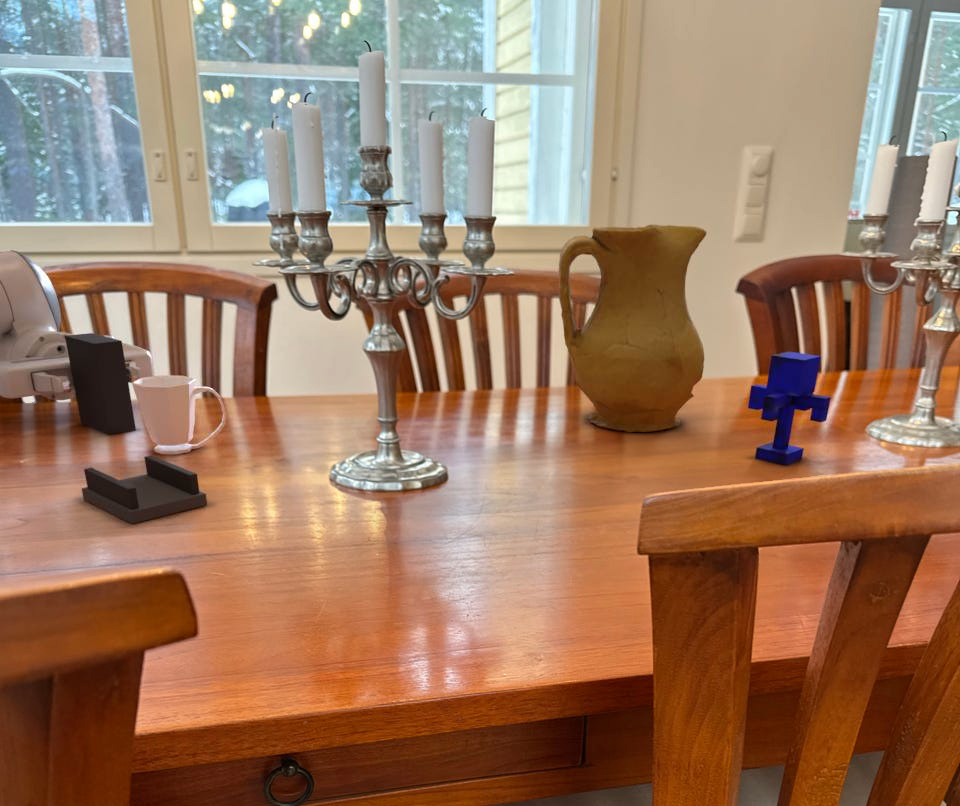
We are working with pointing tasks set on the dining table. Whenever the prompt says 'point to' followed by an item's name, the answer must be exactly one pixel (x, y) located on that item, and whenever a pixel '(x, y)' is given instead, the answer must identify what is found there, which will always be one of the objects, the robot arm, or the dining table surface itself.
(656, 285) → the pitcher
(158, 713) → the dining table surface
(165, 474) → the base pad
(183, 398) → the cup
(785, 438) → the figurine
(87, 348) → the upright pad
